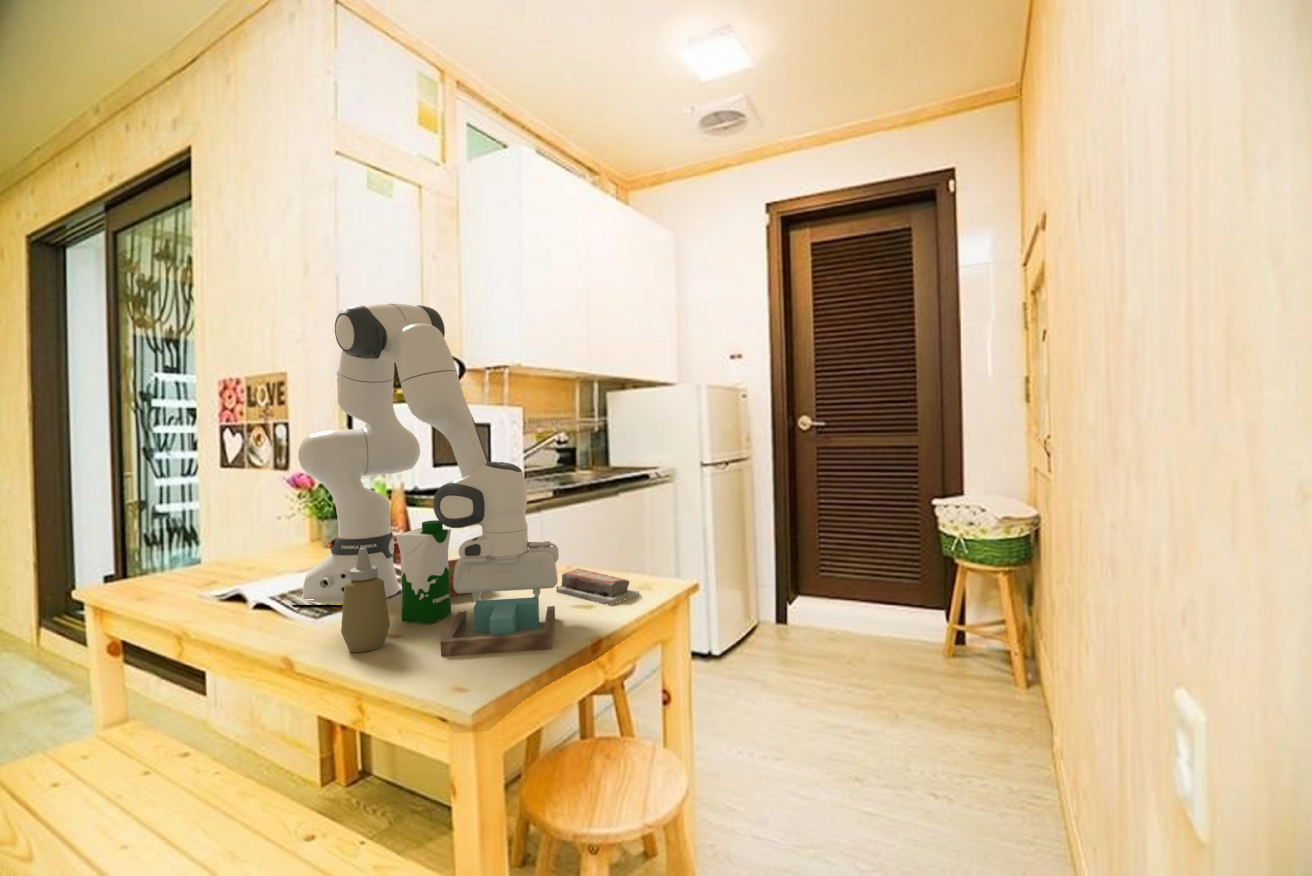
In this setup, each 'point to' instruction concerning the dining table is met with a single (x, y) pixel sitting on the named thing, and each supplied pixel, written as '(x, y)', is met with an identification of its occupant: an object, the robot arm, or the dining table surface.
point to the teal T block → (506, 615)
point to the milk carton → (425, 573)
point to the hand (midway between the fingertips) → (507, 611)
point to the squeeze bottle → (364, 607)
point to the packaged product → (595, 587)
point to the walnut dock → (495, 638)
